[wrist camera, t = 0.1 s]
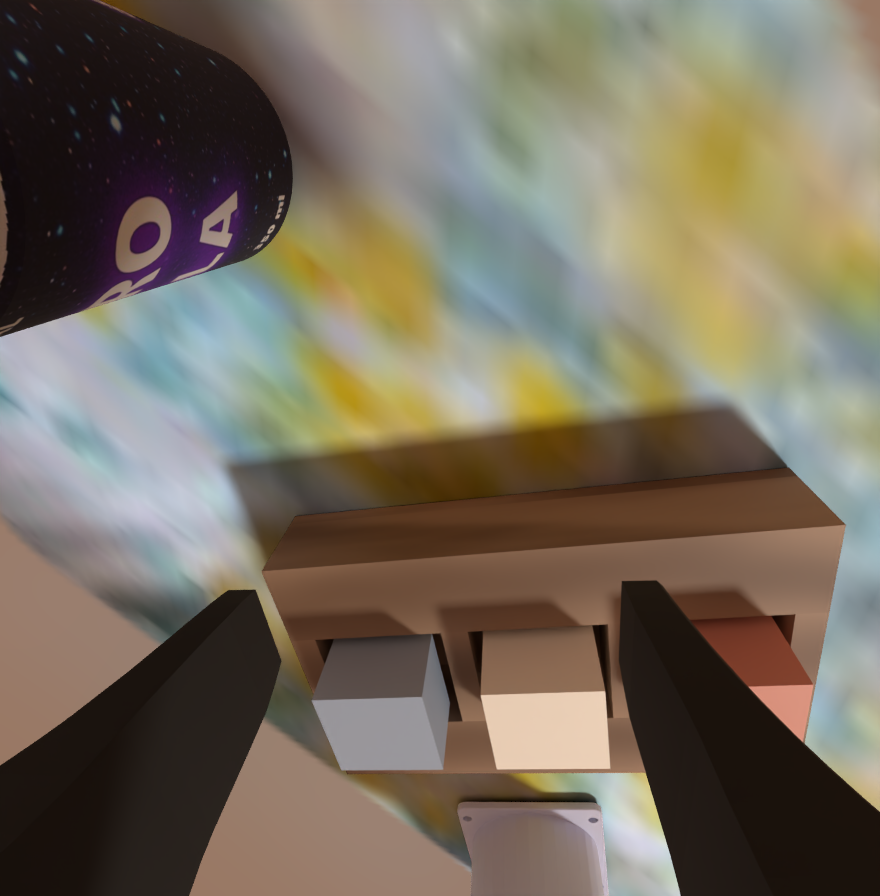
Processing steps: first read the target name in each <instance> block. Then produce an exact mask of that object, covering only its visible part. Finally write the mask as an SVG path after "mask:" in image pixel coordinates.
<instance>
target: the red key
mask: <svg viewBox="0 0 880 896" xmlns="http://www.w3.org/2000/svg"><path fill="white" fill-rule="evenodd" d="M690 621H691V622H692V623H693V625H694V626H695V627H696V628H697V629H698V631H699V632H700V633H701V634H702V635H703V637H704V638H705V639H706V640H707V641H708V642H709V644H710V645H711V646H712V647H713V648H714V649H715V651H716V652H717V653H718V654H719V655H720V656H721V657H722V658H723V659H724V661H725V662H726V663H727V664H728V665H729V666H730V667H731V668H732V669H733V671H734V672H735V673H736V674H737V675H738V676H739V677H740V678H741V679H742V680H743V682H744V683H745V684H746V685H747V686H748V687H749V688H750V689H751V690H752V691H753V692H754V693H755V694H756V695H757V696H758V698H759V699H760V700H761V701H762V702H763V703H764V704H765V705H766V706H767V707H768V708H769V709H770V710H771V711H772V712H773V713H774V714H775V715H776V716H777V717H778V718H779V719H780V720H781V721H782V722H783V723H784V724H785V725H786V726H787V727H788V728H789V729H790V730H791V731H792V732H793V733H794V734H795V735H796V736H797V737H798V738H799V739H800V740H801V741H802V742H803V739H804V733H805V728H806V723H807V717H808V712H809V707H810V701H811V696H812V691H813V683H812V681H811V680H810V678H809V676H808V675H807V673H806V672H805V670H804V668H803V667H802V665H801V663H800V662H799V660H798V658H797V657H796V655H795V654H794V652H793V650H792V649H791V647H790V645H789V644H788V642H787V641H786V639H785V637H784V636H783V634H782V632H781V631H780V629H779V628H778V626H777V624H776V623H775V621H774V619H773V618H772V616H753V617H735V618H716V619H697V620H690Z"/></svg>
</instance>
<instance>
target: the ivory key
mask: <svg viewBox="0 0 880 896" xmlns="http://www.w3.org/2000/svg"><path fill="white" fill-rule="evenodd" d="M481 699H482V704H483V709H484V713H485V718H486V722H487V727H488V731H489V736H490V741H491V745H492V750H493V754H494V759H495V763H496V768H497V769H610V755H609V740H608V725H607V710H606V694H605V687H604V682H603V677H602V672H601V667H600V662H599V657H598V652H597V647H596V642H595V637H594V632H593V627H592V625H585V626H566V627H547V628H528V629H510V630H491V631H483V650H482V674H481Z"/></svg>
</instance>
